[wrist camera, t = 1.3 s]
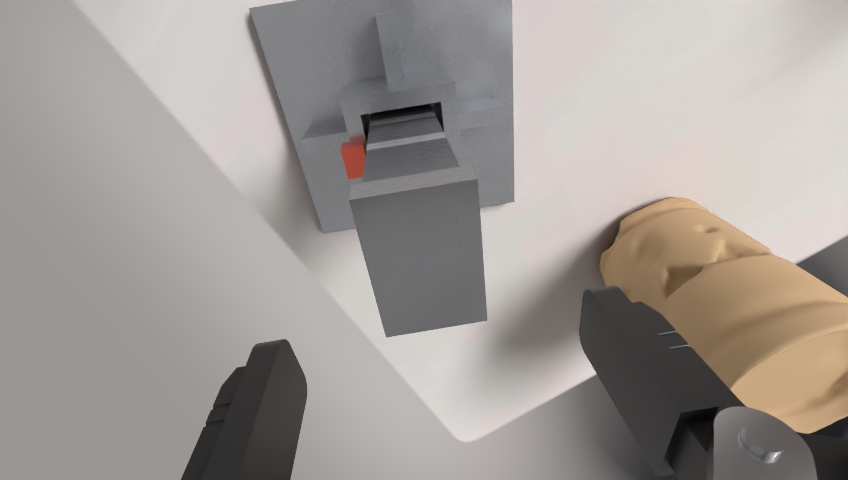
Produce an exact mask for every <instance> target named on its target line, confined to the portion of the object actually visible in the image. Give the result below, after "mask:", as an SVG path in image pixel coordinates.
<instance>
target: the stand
mask: <svg viewBox="0 0 848 480" xmlns="http://www.w3.org/2000/svg"><path fill="white" fill-rule="evenodd" d="M249 10H250V13H251V16H252V19H253V22H254V25H255V28H256V31H257V34H258V37H259V40H260V43H261V46H262V49H263V52H264V55H265V58H266V61H267V64H268V67H269V70H270V73H271V76H272V79H273V82H274V85H275V88H276V91H277V94H278V97H279V100H280V103H281V106H282V109H283V112H284V116H285V119H286V122H287V125H288V128H289V131H290V134H291V137H292V140H293V143H294V146H295V149H296V152H297V155H298V158H299V161H300V164H301V167H302V170H303V173H304V176H305V179H306V182H307V185H308V188H309V191H310V194H311V197H312V200H313V203H314V206H315V209H316V212H317V215H318V218H319V221H320V224H321V227H322V230H323V233H329V232H335V231H341V230H347V229H353V228H356V225H355V222H354V218H353V214H352V211H351V207H350V203H349V196H350V190H351V185H352V184H358V183H362V180H363V172H364V164H365V157H366V149H367V141H368V133H369V126H370V118H371V113H376V112H382V111H388V110H394V109H400V108H406V107H412V106H418V105H424V104H431V106H432V108H433V111H434V113H435V115H436V117H437V119H438V121H439V123H440V125H441V127H442V129H443V132H444V134H445V136H446V138H447V140H448V142H449V144H450V146H451V148H452V151H453V153H454V155H455V157H456V159H457V161H458V163H459V165H460V167H461V166H467V165H470V166H471V167H472V169H473V171H474V173H475V175H476V177H477V178H478V190H479V205H480V207H486V206H492V205H498V204H504V203H510V202H514V132H513V45H512V0H297V1H291V2H284V3H278V4H272V5H266V6H260V7H254V8H249Z"/></svg>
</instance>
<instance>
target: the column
mask: <svg viewBox="0 0 848 480" xmlns="http://www.w3.org/2000/svg"><path fill="white" fill-rule="evenodd" d="M349 203H350V207H351V211H352V214H353V218H354V222H355V225H356V229H357V232H358V236H359V240H360V243H361V247H362V251H363V254H364V258H365V262H366V265H367V269H368V273H369V276H370V280H371V284H372V287H373V291H374V295H375V298H376V302H377V305H378V309H379V313H380V316H381V320H382V324H383V327H384V331H385V335H386V337H391V336H397V335H403V334H409V333H415V332H421V331H427V330H433V329H439V328H445V327H451V326H457V325H463V324H469V323H475V322H481V321H487V309H486V294H485V279H484V265H483V250H482V235H481V220H480V205H479V190H478V178H477V177H476V175H475V173H474V171H473V169H472V167H471V166H470V165H467V166H461V167H460V165H459V163H458V161H457V159H456V157H455V155H454V153H453V151H452V148H451V146H450V144H449V142H448V140H447V138H446V136H445V134H444V132H443V129H442V127H441V125H440V123H439V121H438V119H437V117H436V115H435V113H434V111H433V108H432V106H431V104H424V105H418V106H412V107H406V108H400V109H394V110H388V111H382V112H376V113H371V118H370V126H369V133H368V141H367V149H366V157H365V164H364V172H363V180H362V183H358V184H352V185H351V190H350V196H349Z"/></svg>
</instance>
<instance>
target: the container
mask: <svg viewBox="0 0 848 480" xmlns="http://www.w3.org/2000/svg"><path fill="white" fill-rule="evenodd" d="M600 271H601V274H602V276H603V280H604V283H605V286H612V285H615V286H617V287H619V288H620V289H621V290H622V291H623V293H624V294H625V295H626V296H627V297H628V299H629V300H630V301H631V302H632V303H633V302H639V301H641V302H643V303H644V304H646V305H648V306H649V307H651V308H653V309H654V310H656V311H658V312H659V313H661V314H662V315H663V316H664V317H665V318H666V320H667V321H668V322H669V323H670V324H671V325H672V326H673V327H674V328H675V329H676V333H679V334H680V335H681V336H682V337H683V338H684V339H685V340H686V342H687V343H688V346H689V347H692V348H693V349H694V350H695V351H696V353H697V354H698V355H699V356H700V357H701V358H702V359H703V360H704V361H705V362H706V364H707V365H708V366H709V367H710V368H711V369H712V370H713V371H714V372H715V373H716V375H717V376H718V377H719V378H720V379H721V380H722V381H723V382H724V383H725V384H726V386H727V387H728V388H729V389H730V390H731V391H732V392H733V393H734V394H735V395H736V397H737V398H738V399H739V400H740V401H741V402H742V403H743V404H744V405H745V406H747V407H749V408H753V409H757V410H760V411H763V412H765V413H768V414H770V415H772V416H774V417H776V418H777V419H779V420H781V421H783V422H784V423H785V424H787V425H788V426H789V427H791V428H792V429H793V430H794V431H795V432H800V433H805V434H810V433H813V432H815V431H817V430H819V429H821V428H823V427H826V426H828V425H830V424H832V423H834V422H835V421H837V420H840V419H842V418H844V417H846V416H848V298H847V297H846V296H844V295H843V294H841V293H839V292H838V291H836V290H834V289H833V288H831V287H830V286H828V285H827V284H825V283H823V282H822V281H820V280H819V279H817V278H815V277H814V276H812V275H811V274H809V273H807V272H806V271H804V270H802V269H801V268H799V267H798V266H796V265H795V264H793V263H791V262H790V261H788V260H785V259H783V258H780V257H778V256H776V255H774V254H773V253H772V252H771V251H770V250H769V248H767V247H766V246H764V245H763V244H761V243H759V242H758V241H756V240H755V239H753V238H751V237H750V236H748V235H747V234H745V233H743V232H742V231H740V230H739V229H737V228H736V227H734V226H732V225H731V224H729V223H727V222H726V221H724V220H723V219H721V218H720V217H718V216H716V215H715V214H713V213H710V212H709V211H708V210H707V209H705V208H704V207H702V206H700V205H699V204H697V203H695V202H693V201H691V200H688V199H684V198H675V197H668V198H667V199H663V200H661V201H658V202H655V203H653V204H651V205H648V206H647V207H645V208H643V209H641V210H638V211H635V212H633V213H632V214H630V215H629V216H627V217H625V218H624V219H623V220H621V222H620V229H619V232H618V235H617V237H616V239H615V242H614V243H613V245H612V246H611V247H610V248H609V249H607V250H606V251H604V252H603V253H602V255H601V260H600Z"/></svg>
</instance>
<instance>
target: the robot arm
mask: <svg viewBox="0 0 848 480" xmlns="http://www.w3.org/2000/svg"><path fill="white" fill-rule="evenodd" d="M579 335H580V341H581V345H582V348H583V350H584V352H585V354H586V356H587V358H588V359H589V361H590V363H591V364H592V366H593V368H594V370H595V371H596V373H597V375H598V376H599V378H600V380H601V382H602V383H603V385H604V387H605V388H606V390H607V392H608V394H609V395H610V397H611V399H612V400H613V402H614V404H615V406H616V407H617V409H618V411H619V413H620V414H621V416H622V418H623V419H624V421H625V423H626V425H627V426H628V428H629V430H630V431H631V433H632V435H633V436H634V438H635V440H636V442H637V443H638V445H639V447H640V449H641V450H642V452H643V454H644V455H645V457H646V459H647V460H648V462H649V464H650V466H651V467H652V469H653V471H654V472H655V474H656V476H657V477H659V476H665V475H670V474H676V476H677V478H678V479H679V480H848V439H842V438H834V437H826V436H819V435H813V434H805V433H800V432H795V431H794V430H793V429H792V428H791V427H789V426H788V425H787V424H785V423H784V422H783V421H781V420H779V419H777V418H776V417H774V416H772V415H770V414H768V413H765V412H763V411H760V410H757V409H753V408H749V407H747V406H745V405H744V404H743V403H742V402H741V401H740V400H739V399H738V398H737V397H736V395H735V394H734V393H733V392H732V391H731V390H730V389H729V388H728V387H727V386H726V384H725V383H724V382H723V381H722V380H721V379H720V378H719V377H718V376H717V375H716V373H715V372H714V371H713V370H712V369H711V368H710V367H709V366H708V365H707V364H706V362H705V361H704V360H703V359H702V358H701V357H700V356H699V355H698V354H697V353H696V351H695V350H694V349H693V348H692V347H689V346H688V343H687V342H686V340H685V339H684V338H683V337H682V336H681V335H680V334H679V333H676V329H675V328H674V327H673V326H672V325H671V324H670V323H669V322H668V321H667V320H666V318H665V317H664V316H663V315H662V314H661V313H659V312H658V311H656V310H654V309H653V308H651V307H649V306H648V305H646V304H644V303H643V302H641V301H639V302H633V303H632V302H631V301H630V300H629V299H628V297H627V296H626V295H625V294H624V293H623V291H622V290H621V289H620V288H619V287H617V286H615V285H612V286H606V287H600V288H594V289H588V290H585V292H584V294H583V301H582V310H581V319H580V328H579ZM306 399H307V383H306V378H305V375H304V373H303V371H302V369H301V367H300V365H299V362H298V360H297V358H296V356H295V354H294V352H293V350H292V348H291V345H290V343H289V342H288V341H287V340H286V339H283V340H277V341H271V342H265V343H259V344H256V345H255V346H254V347H253V349H252V351H251V354H250V356H249V359H248V361H247V364H246V366H244V367H238V368H236V369H235V371H234V372H233V373H232V374H231V375H230V377H229V378H228V379H227V380H226V381H225V383H224V384H223V385H222V387H221V389H220V391H219V393H218V396H217V398H216V400H215V403H214V405H213V410H211V412H210V414H209V416H208V419H207V421H206V427H204V428H203V430H202V432H201V435H200V437H199V439H198V442H197V444H196V446H195V448H194V451H193V453H192V455H191V458H190V460H189V462H188V465H187V467H186V469H185V472H184V474H183V476H182V479H181V480H290V478H291V474H292V469H293V464H294V459H295V454H296V449H297V443H298V439H299V434H300V429H301V424H302V419H303V414H304V409H305V404H306Z"/></svg>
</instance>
